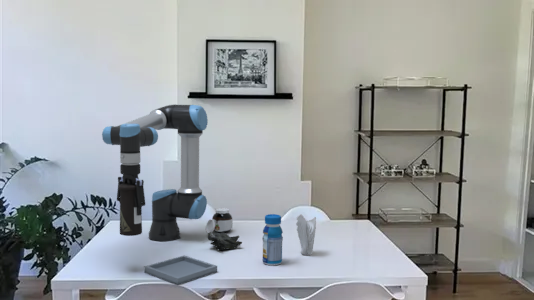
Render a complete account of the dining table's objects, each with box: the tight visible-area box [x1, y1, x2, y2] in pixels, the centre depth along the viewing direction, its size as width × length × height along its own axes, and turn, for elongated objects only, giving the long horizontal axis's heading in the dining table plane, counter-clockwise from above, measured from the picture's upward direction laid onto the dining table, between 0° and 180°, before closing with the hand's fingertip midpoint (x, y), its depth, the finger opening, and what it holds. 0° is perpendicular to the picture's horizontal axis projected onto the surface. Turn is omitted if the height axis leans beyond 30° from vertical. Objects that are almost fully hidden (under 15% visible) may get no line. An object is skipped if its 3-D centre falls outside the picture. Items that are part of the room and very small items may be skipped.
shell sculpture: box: [296, 214, 317, 256], centre depth 231 cm, size 8×8×18 cm
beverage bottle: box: [262, 213, 284, 266], centre depth 218 cm, size 8×8×20 cm
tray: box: [143, 255, 218, 286], centre depth 205 cm, size 20×20×2 cm
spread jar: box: [205, 207, 234, 234], centre depth 266 cm, size 12×11×12 cm
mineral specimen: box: [206, 232, 243, 251], centre depth 238 cm, size 15×13×10 cm
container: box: [119, 183, 143, 237], centre depth 204 cm, size 9×9×20 cm
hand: (130, 221), depth 204 cm, fingers closed on container, 8 cm apart
